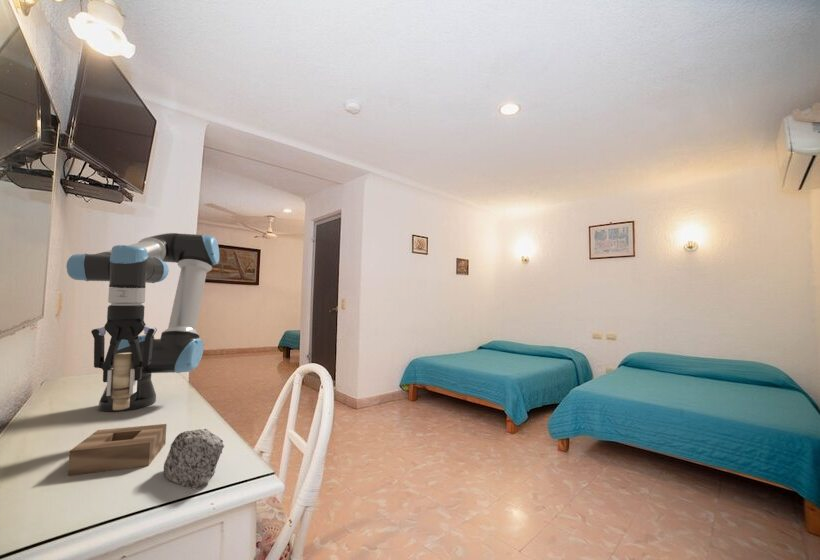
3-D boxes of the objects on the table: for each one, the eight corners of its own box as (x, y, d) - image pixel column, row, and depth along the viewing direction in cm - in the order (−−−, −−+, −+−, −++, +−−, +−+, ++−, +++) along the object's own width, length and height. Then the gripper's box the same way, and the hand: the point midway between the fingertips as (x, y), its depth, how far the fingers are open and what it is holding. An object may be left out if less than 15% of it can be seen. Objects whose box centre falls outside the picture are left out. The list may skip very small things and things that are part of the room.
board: (96, 451, 82) (97, 430, 83) (165, 443, 87) (166, 423, 88) (67, 475, 71) (69, 451, 72) (148, 465, 76) (150, 442, 77)
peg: (114, 406, 91) (117, 352, 91) (133, 404, 93) (136, 352, 93) (107, 411, 87) (110, 355, 88) (127, 409, 89) (130, 355, 89)
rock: (228, 483, 69) (229, 430, 71) (180, 498, 63) (182, 440, 65) (203, 469, 80) (204, 424, 82) (159, 481, 74) (162, 432, 76)
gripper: (77, 304, 84) (71, 400, 83) (160, 305, 90) (156, 395, 90) (93, 303, 91) (87, 392, 90) (169, 304, 97) (165, 387, 97)
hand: (121, 393), depth 90 cm, fingers closed on peg, 4 cm apart
